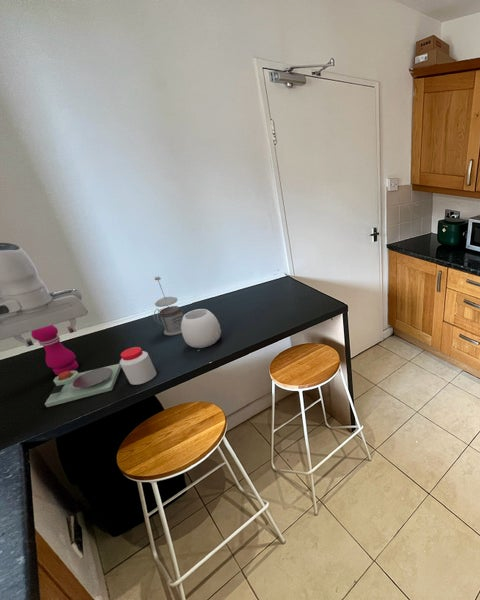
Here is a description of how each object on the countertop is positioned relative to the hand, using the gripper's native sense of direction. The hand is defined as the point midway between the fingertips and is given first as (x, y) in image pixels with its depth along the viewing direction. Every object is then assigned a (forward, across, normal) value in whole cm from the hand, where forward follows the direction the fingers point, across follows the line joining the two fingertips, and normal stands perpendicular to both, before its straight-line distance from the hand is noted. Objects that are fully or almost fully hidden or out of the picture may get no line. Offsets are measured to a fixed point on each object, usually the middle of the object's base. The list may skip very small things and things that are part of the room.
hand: (52, 338), depth 97 cm
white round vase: (+20, -38, +6) cm, 43 cm away
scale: (+19, -1, +1) cm, 19 cm away
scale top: (+16, -1, +2) cm, 17 cm away
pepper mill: (+20, +1, -16) cm, 25 cm away
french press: (+20, -34, -14) cm, 41 cm away
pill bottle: (+20, -14, +11) cm, 27 cm away
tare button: (+17, +2, -5) cm, 18 cm away
